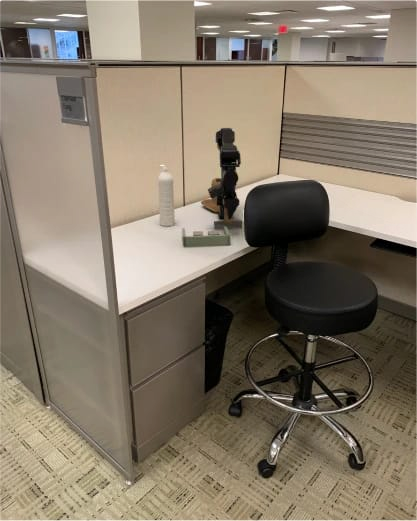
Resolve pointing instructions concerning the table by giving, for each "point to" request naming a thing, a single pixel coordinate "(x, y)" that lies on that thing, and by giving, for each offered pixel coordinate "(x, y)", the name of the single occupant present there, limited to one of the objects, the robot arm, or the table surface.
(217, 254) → the table surface
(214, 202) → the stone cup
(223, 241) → the bin
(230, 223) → the hoe
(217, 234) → the stone block
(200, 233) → the stone block
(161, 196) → the white pump bottle
